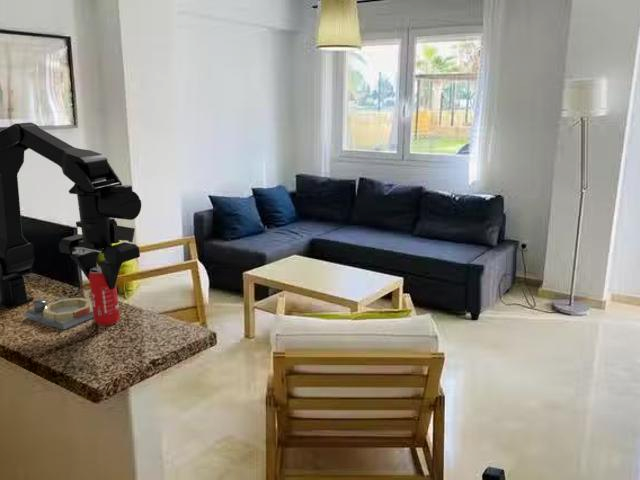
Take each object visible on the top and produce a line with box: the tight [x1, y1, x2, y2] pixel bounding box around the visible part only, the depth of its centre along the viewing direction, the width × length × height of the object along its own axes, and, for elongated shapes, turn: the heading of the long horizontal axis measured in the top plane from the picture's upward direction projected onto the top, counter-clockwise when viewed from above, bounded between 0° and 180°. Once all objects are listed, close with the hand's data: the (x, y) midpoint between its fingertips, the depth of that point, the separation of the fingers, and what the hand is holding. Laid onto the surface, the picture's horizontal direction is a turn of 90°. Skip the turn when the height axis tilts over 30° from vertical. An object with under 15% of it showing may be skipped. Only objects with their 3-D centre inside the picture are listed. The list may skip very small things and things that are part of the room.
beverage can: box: [88, 265, 121, 327], centre depth 122 cm, size 5×5×12 cm
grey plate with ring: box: [25, 295, 94, 331], centre depth 127 cm, size 13×10×4 cm
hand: (103, 286), depth 122 cm, fingers closed on beverage can, 5 cm apart
